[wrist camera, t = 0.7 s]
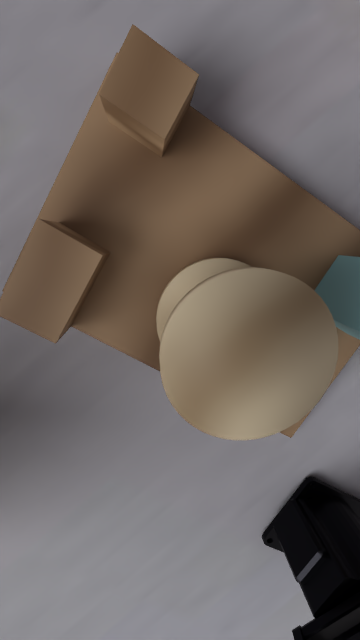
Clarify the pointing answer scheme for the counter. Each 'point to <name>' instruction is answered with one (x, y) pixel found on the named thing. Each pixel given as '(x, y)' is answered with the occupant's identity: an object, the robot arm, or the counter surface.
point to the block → (343, 293)
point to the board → (160, 213)
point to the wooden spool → (243, 348)
